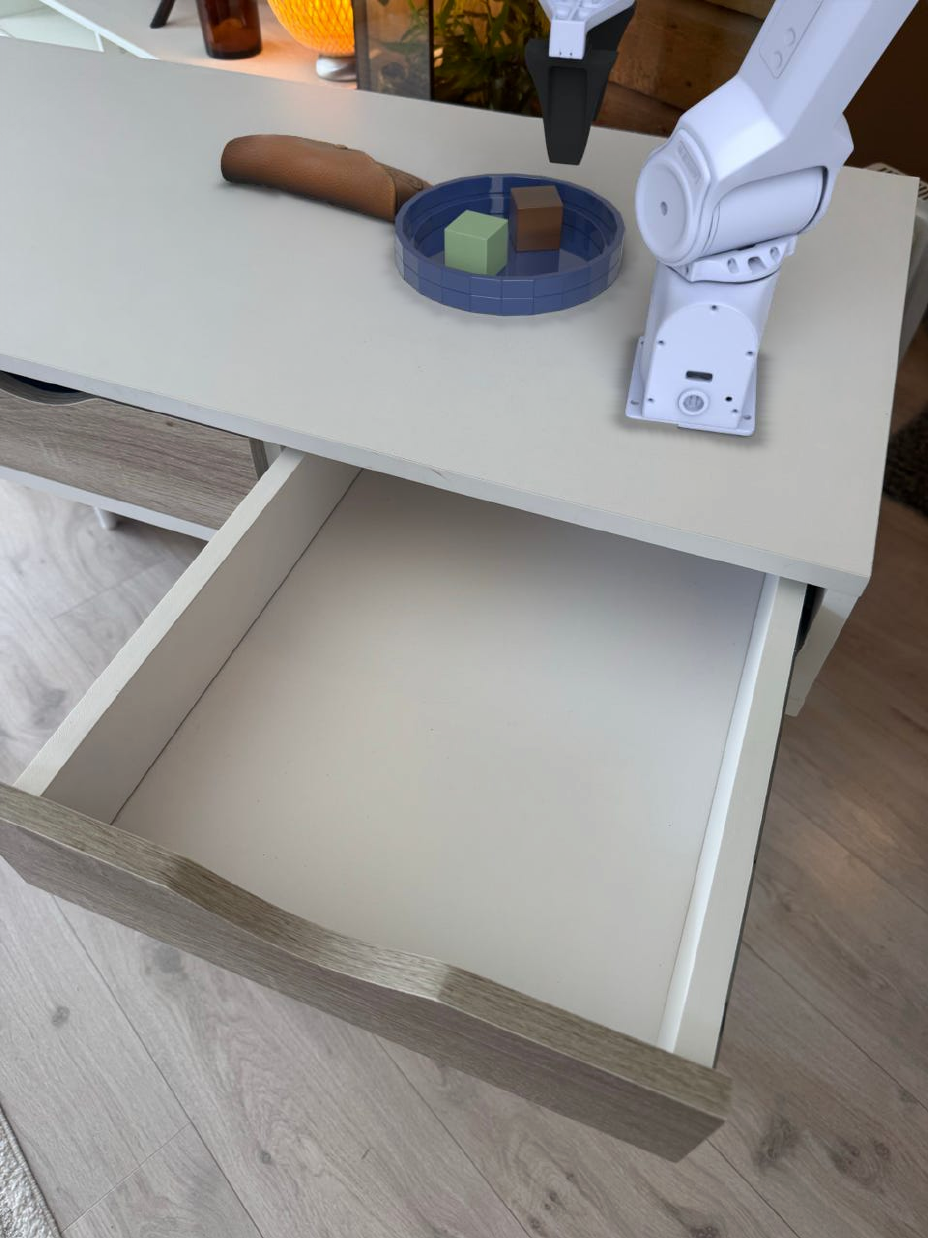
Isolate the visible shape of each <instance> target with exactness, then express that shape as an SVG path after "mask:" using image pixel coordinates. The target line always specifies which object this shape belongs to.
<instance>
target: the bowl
mask: <svg viewBox="0 0 928 1238" xmlns="http://www.w3.org/2000/svg"><path fill="white" fill-rule="evenodd" d="M537 186H555V188H556V190H557V192H558V195H559V197H560V199H561V201H562V204H563V216H562V229H561V241H560V249H557V250H541V251H525V252H516V250H515V247H514V244H513V241H512V238H511V236H510V233H509V217H510V190H511V188H519V187H537ZM466 210H469V211H473V212H477V213H482V214H486V215H490V216H494V217H498V218H502V219H507V220H508V239H507V264H506V266H505V267H504V268H502V269H501V270H500V271H499V272H498V273H497V274H496V275H495V276H494V275H485V274H476V273H471V272H467V271H463V270H459V269H456V268H452V267H448V266H445V232H444V230H445V228H446V227H447V226H449V225H450V224H451V223H452V222H453V221H454V220H456V219H457V218H458V217H459V216H460V215H461V214H462V213H464V212H465V211H466ZM625 233H626V225H625V222H624V219H623V217H622V214H621V212H620V211H619V210H618V209H617V208H616V207H615V205H613V203H612V202H611V201H610V200H608V199H607V198H605V197H603V196H602V195H600V194H599V193H597V192H595V191H593V190H592V189H589V188H587V187H584V186H582V185H580V184H576V183H575V182H572V181H568V180H564V179H559V178H554V177H550V176H545V175H538V174H527V173H515V172H513V173H512V172H511V173H509V172H508V173H507V172H506V173H483V174H476V175H469V176H460V177H457V178H453V179H449V180H446V181H443V182H438V183H436V184H434V185H432V187H430V188H428V189H425V190H423V191H421V192H419V193H417V194H416V195H414V196H413V197H412V198H411V199H409V200H408V201H407V202H406V203H404V204H403V206H402V207H401V209H400V211H399V212H398V214H397V216H396V218H395V221H394V241H395V258H396V267H397V269H398V270H399V272H400V274H401V276H402V278H403V280H404V281H405V282H406V283H407V284H408V285H410V286H411V287H412V288H413V289H414V290H415V291H417V292H418V293H419V294H421V295H423V296H425V297H426V298H429V299H430V300H433V301H435V302H437V303H440V304H441V305H444V306H448V307H451V308H455V309H459V310H462V311H466V312H471V313H478V314H487V315H493V316H494V315H496V316H501V317H504V316H533V315H538V314H539V315H540V314H544V313H551V312H557V311H562V310H566V309H569V308H572V307H575V306H577V305H580V304H583V303H587V302H588V301H590V300H591V299H593V298H595V297H597V296H598V295H600V294H602V293H603V292H605V291H606V290H607V289H608V288H609V286H611V284H612V283H613V282H614V281H615V280H616V278H617V277H618V275H619V272H620V267H621V263H622V258H623V250H624V249H623V248H624V242H625V235H626V234H625Z"/></svg>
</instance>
